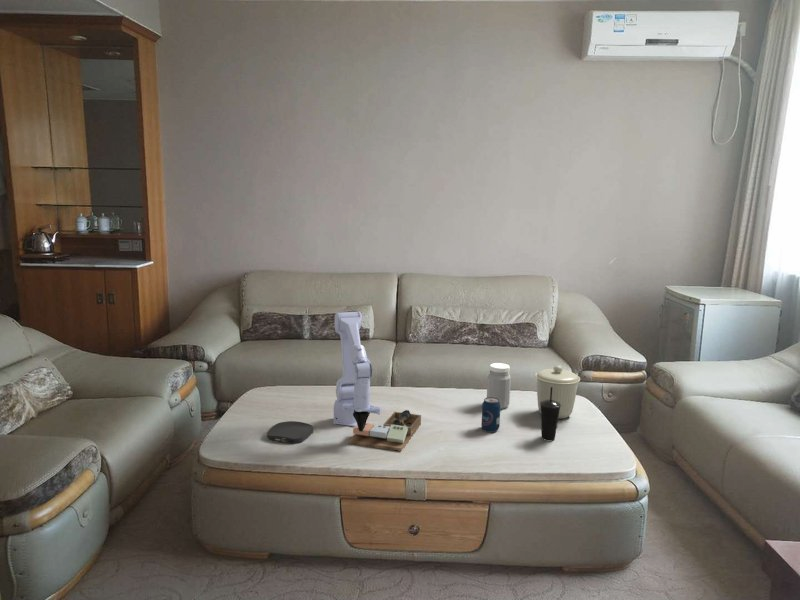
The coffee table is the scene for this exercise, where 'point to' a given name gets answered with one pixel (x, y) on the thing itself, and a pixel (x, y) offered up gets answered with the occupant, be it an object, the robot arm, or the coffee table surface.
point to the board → (383, 442)
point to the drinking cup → (549, 417)
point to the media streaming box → (290, 432)
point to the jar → (499, 383)
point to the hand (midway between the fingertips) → (361, 430)
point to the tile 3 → (397, 433)
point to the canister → (557, 388)
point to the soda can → (490, 414)
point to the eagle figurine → (401, 418)
